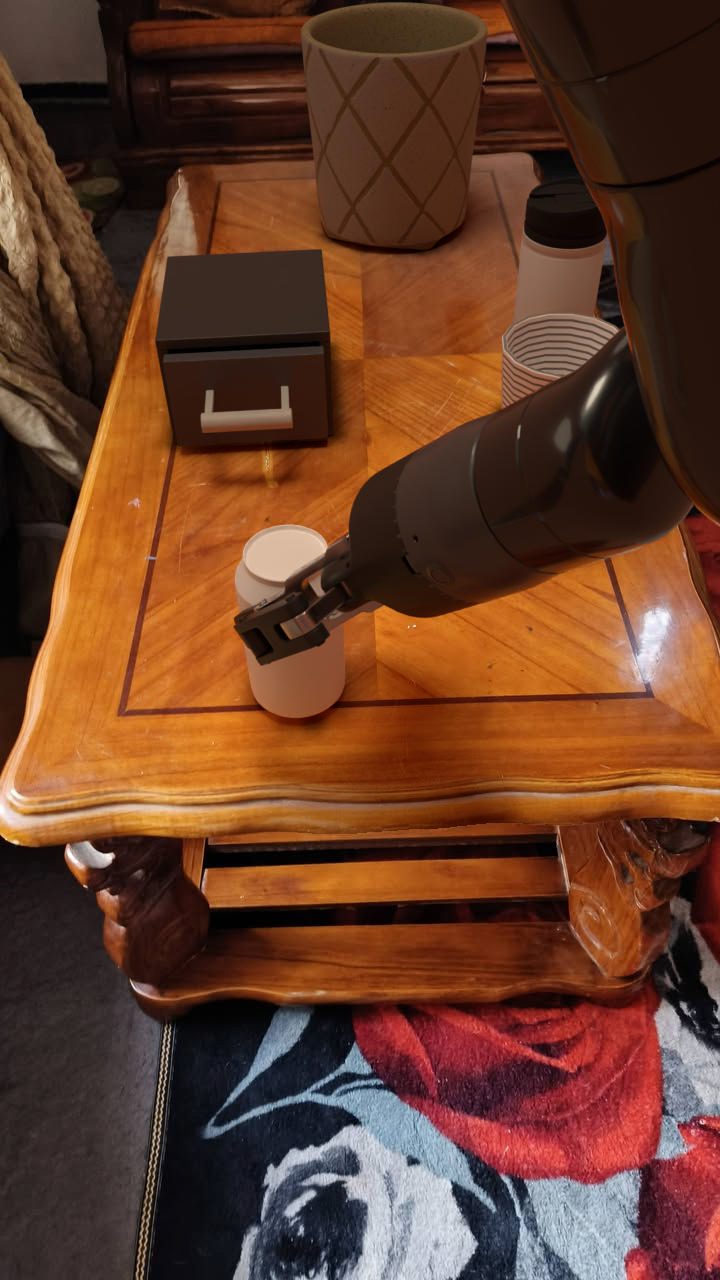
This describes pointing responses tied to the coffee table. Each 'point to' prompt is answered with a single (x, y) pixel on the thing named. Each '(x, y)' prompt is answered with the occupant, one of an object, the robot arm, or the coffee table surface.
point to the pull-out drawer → (247, 393)
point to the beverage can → (306, 675)
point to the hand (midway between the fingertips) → (299, 590)
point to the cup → (548, 350)
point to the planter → (393, 119)
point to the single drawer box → (244, 306)
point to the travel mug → (560, 250)
